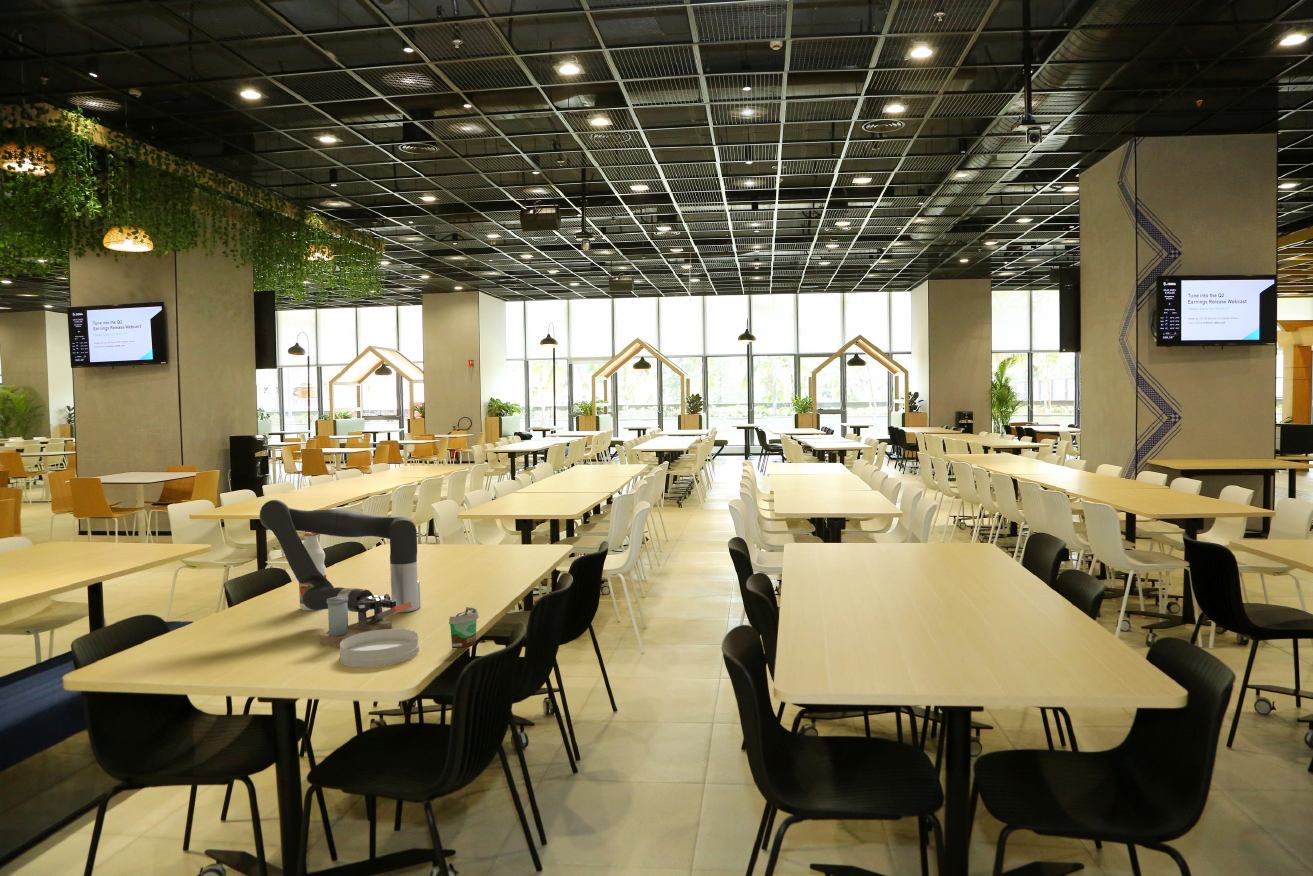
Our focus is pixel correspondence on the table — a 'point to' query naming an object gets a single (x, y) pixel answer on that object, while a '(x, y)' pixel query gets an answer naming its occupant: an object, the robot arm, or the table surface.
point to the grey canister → (338, 616)
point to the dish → (379, 647)
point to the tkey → (388, 612)
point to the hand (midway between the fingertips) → (394, 604)
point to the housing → (356, 629)
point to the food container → (464, 628)
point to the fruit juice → (318, 559)
